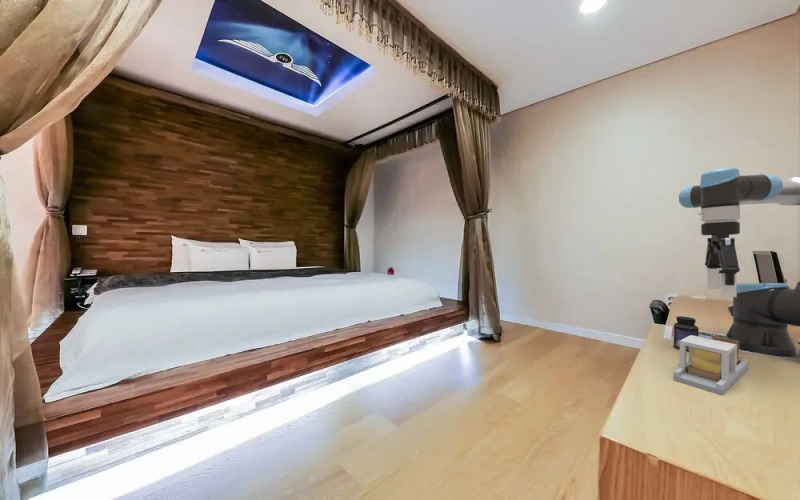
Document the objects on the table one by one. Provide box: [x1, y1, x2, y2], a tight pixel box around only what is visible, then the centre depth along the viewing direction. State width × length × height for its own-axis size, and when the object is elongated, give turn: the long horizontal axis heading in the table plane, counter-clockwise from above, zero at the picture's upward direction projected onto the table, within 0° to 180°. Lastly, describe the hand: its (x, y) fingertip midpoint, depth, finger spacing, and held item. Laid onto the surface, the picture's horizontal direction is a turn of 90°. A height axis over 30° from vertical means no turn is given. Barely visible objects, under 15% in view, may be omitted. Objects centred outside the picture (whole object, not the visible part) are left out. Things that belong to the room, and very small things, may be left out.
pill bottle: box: [673, 315, 700, 352], centre depth 97 cm, size 6×6×11 cm
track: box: [672, 335, 749, 396], centre depth 78 cm, size 27×9×10 cm, turn 120°
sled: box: [688, 336, 742, 381], centre depth 79 cm, size 22×6×7 cm, turn 120°
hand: (720, 292), depth 82 cm, fingers open, 13 cm apart
